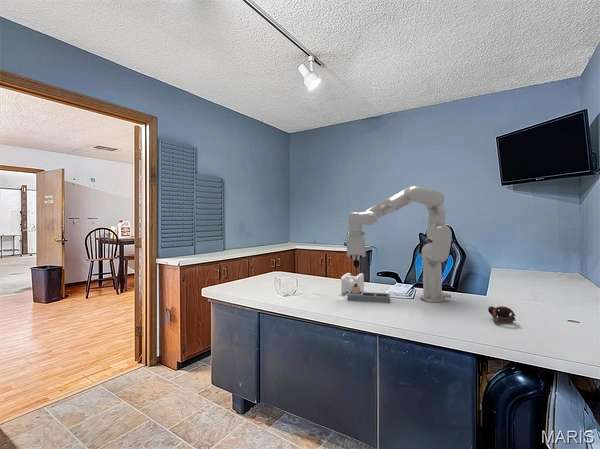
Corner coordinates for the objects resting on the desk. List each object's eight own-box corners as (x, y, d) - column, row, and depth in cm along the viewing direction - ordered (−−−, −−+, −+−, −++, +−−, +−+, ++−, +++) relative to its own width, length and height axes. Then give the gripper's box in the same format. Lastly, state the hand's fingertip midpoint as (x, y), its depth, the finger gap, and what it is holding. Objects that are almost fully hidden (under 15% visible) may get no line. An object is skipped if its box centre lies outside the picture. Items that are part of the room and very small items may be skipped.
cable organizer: (357, 297, 184) (357, 277, 184) (340, 295, 189) (340, 276, 188) (364, 291, 198) (363, 272, 197) (347, 289, 202) (347, 271, 202)
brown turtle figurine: (521, 325, 136) (521, 311, 132) (507, 337, 133) (506, 323, 129) (494, 310, 146) (493, 297, 142) (480, 322, 143) (479, 309, 140)
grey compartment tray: (389, 301, 173) (389, 292, 173) (389, 305, 165) (389, 296, 165) (349, 299, 180) (349, 290, 180) (347, 303, 172) (347, 294, 172)
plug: (360, 298, 176) (359, 283, 176) (359, 300, 172) (358, 284, 172) (352, 297, 177) (352, 282, 177) (351, 299, 173) (351, 284, 173)
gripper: (369, 233, 175) (370, 266, 176) (343, 234, 180) (344, 265, 180) (368, 234, 168) (369, 268, 169) (341, 235, 172) (342, 268, 173)
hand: (356, 267), depth 174 cm, fingers closed
